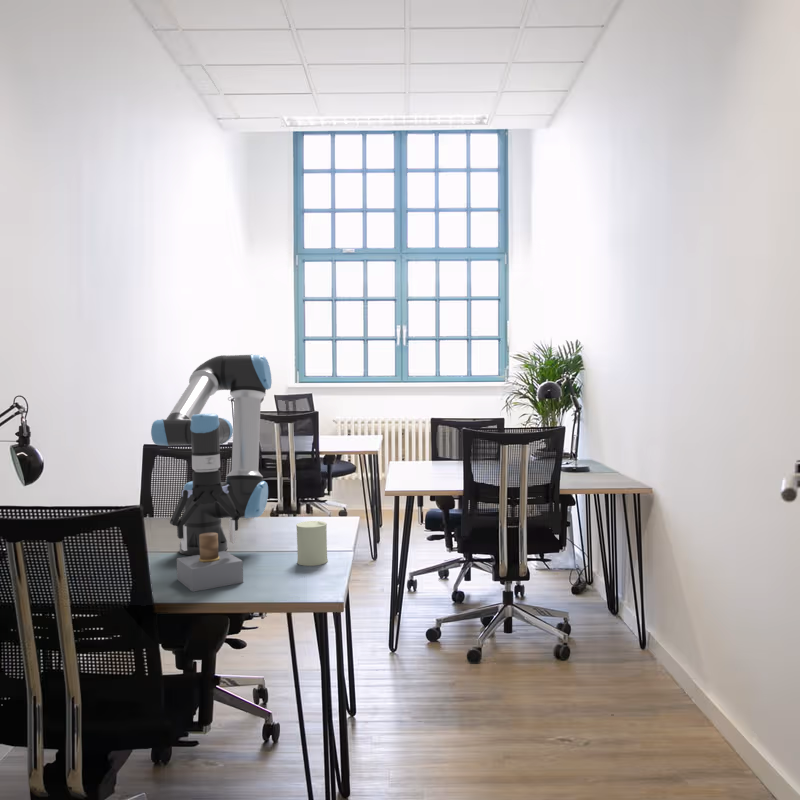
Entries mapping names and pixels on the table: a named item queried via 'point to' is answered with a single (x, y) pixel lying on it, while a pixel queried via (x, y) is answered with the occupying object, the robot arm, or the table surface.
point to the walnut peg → (208, 547)
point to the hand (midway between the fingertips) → (208, 546)
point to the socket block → (209, 571)
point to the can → (312, 543)
